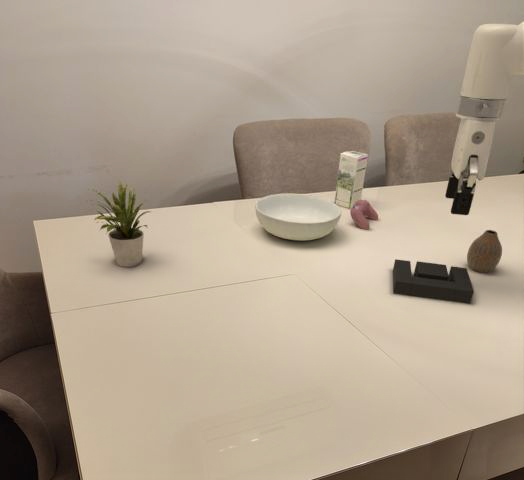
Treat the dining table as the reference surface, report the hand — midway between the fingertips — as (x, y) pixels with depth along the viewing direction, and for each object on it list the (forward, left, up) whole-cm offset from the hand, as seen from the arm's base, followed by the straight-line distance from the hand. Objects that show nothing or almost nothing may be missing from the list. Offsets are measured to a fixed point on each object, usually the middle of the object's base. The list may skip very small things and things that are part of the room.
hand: (456, 205), depth 97 cm
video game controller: (+17, -31, -16) cm, 39 cm away
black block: (+2, +2, -16) cm, 16 cm away
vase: (-10, -10, -16) cm, 22 cm away
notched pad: (+2, +3, -16) cm, 17 cm away
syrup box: (+22, -45, -16) cm, 52 cm away
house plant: (+66, +9, -16) cm, 68 cm away
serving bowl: (+33, -18, -16) cm, 41 cm away
